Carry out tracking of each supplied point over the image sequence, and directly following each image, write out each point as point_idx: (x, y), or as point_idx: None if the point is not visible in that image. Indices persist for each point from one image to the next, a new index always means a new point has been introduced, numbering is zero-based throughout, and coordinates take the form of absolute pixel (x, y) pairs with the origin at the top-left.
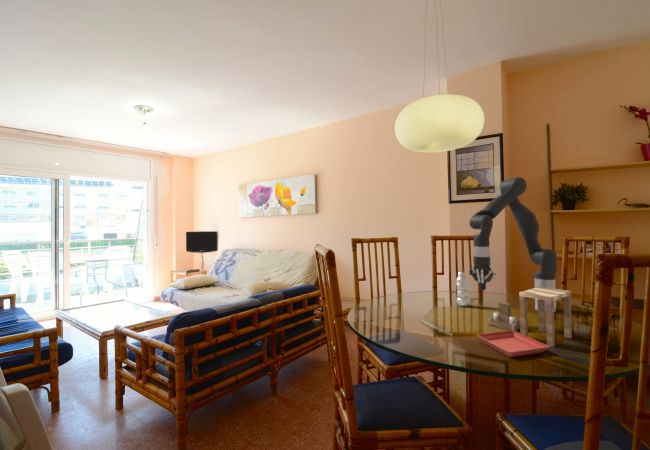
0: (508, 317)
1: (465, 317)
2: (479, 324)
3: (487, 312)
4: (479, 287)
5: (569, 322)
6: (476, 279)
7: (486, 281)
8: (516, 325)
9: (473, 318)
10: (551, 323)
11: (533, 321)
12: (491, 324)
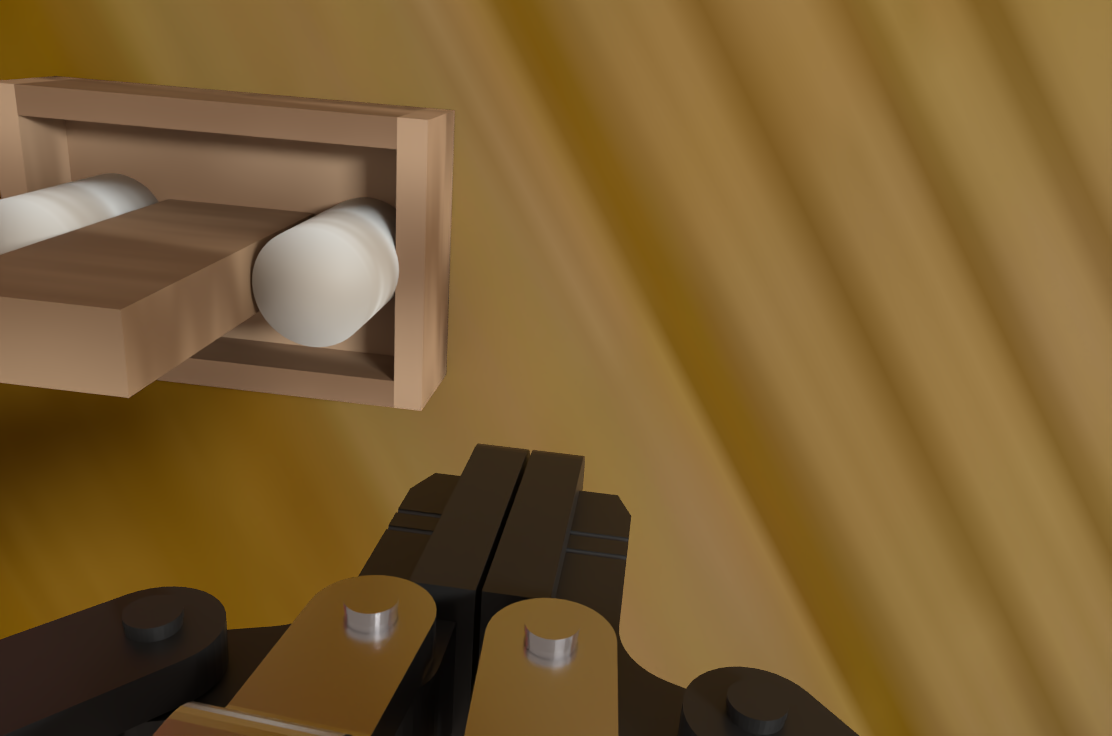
0: (86, 224)
1: (929, 231)
2: (562, 36)
3: None
4: (606, 522)
5: None
6: (720, 722)
7: (124, 618)
8: (11, 174)
9: (795, 277)
10: None
11: None
12: (384, 105)
